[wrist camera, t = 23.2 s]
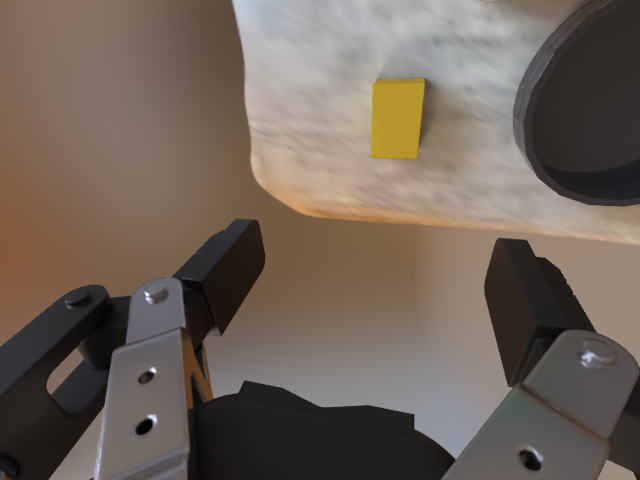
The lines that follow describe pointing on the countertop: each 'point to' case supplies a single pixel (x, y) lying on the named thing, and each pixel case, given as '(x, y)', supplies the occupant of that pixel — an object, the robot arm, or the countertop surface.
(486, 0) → the milk bottle
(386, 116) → the sponge
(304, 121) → the countertop surface
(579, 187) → the pan
